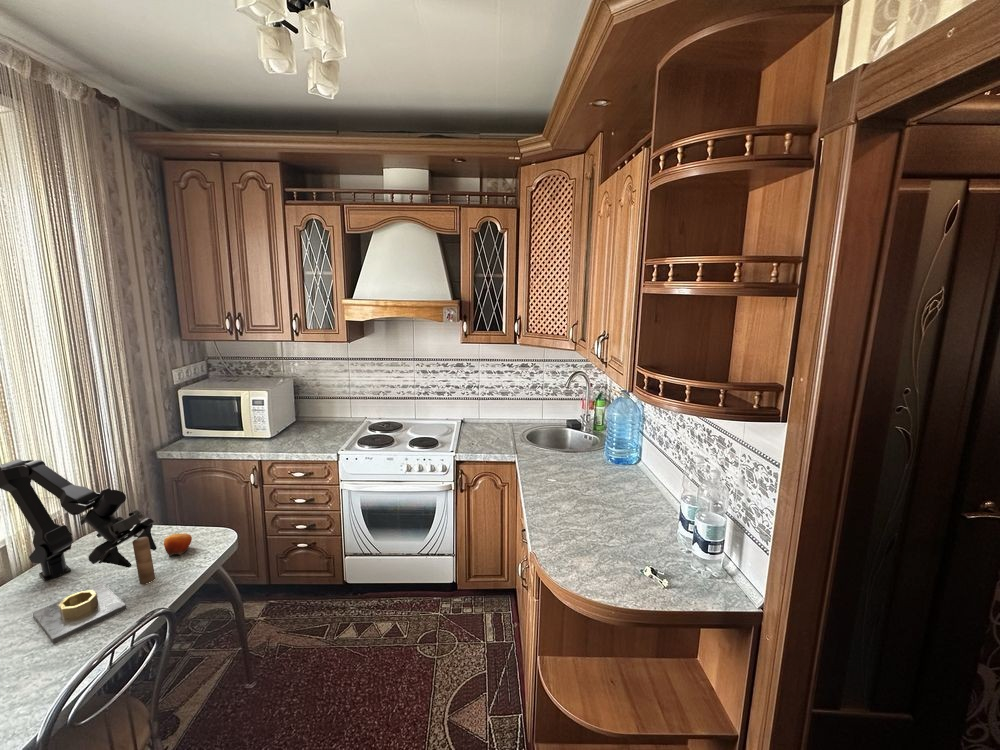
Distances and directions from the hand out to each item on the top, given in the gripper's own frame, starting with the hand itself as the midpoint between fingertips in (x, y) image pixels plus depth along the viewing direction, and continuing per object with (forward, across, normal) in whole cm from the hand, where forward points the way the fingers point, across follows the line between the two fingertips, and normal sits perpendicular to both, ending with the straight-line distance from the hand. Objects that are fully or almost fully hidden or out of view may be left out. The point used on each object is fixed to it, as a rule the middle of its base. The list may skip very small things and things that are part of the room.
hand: (143, 557), depth 149 cm
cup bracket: (+1, -16, +10) cm, 19 cm away
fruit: (+4, +16, +8) cm, 18 cm away
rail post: (+6, 0, +6) cm, 8 cm away
